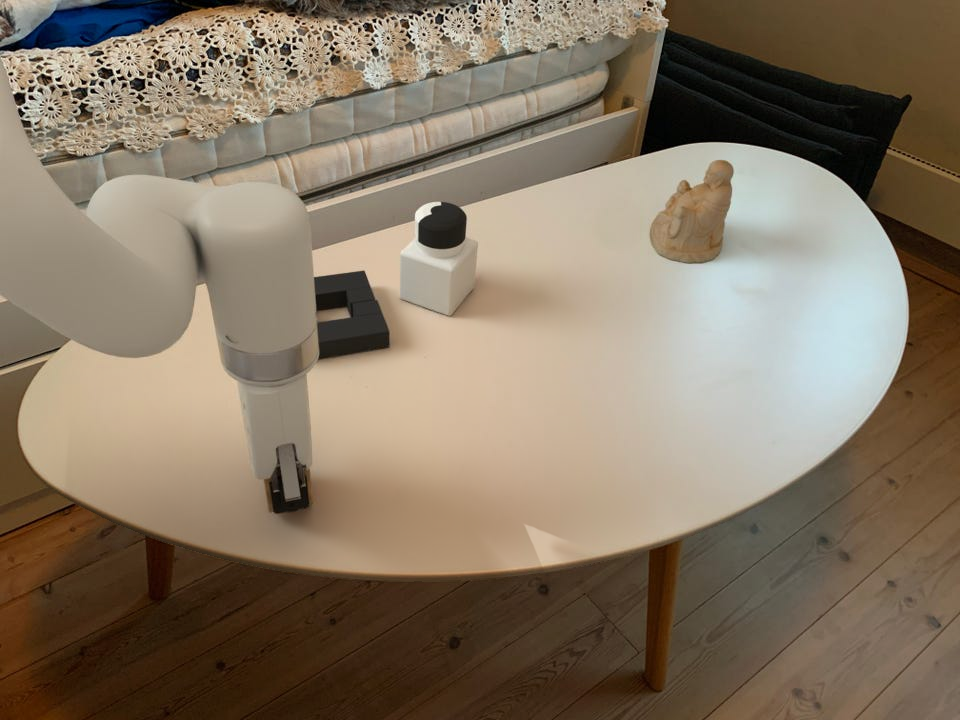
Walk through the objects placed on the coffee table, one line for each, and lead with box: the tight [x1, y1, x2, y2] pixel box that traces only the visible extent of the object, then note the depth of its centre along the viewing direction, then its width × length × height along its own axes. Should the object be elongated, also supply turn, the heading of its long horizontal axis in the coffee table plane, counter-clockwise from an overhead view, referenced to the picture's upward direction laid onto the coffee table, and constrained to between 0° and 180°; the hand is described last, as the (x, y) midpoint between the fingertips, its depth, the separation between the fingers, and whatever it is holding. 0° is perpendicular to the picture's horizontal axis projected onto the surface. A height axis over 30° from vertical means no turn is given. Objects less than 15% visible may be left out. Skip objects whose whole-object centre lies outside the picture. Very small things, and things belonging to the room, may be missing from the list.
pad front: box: [317, 299, 390, 360], centre depth 89 cm, size 11×6×2 cm, turn 109°
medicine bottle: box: [399, 201, 479, 317], centre depth 94 cm, size 7×7×12 cm
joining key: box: [263, 467, 314, 514], centre depth 71 cm, size 4×4×6 cm
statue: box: [649, 159, 735, 264], centre depth 108 cm, size 12×14×10 cm
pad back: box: [314, 269, 376, 318], centre depth 94 cm, size 11×6×2 cm, turn 109°
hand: (287, 487), depth 72 cm, fingers closed on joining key, 4 cm apart
